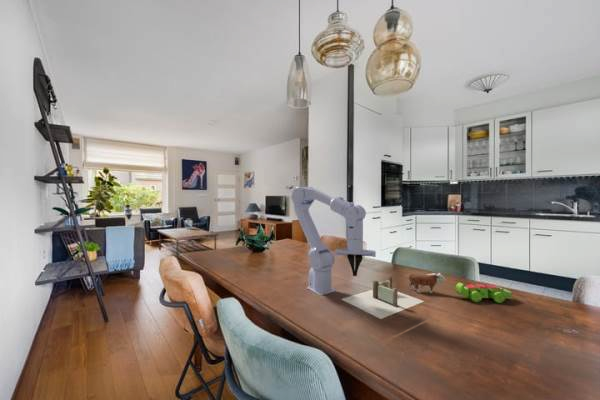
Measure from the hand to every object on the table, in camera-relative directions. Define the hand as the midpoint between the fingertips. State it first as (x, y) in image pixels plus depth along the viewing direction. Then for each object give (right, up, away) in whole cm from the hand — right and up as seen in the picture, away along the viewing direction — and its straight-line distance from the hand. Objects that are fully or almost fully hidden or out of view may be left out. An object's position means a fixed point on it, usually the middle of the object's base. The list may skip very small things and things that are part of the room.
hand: (354, 275), depth 93 cm
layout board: (+10, -9, -1) cm, 14 cm away
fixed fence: (+12, -9, +4) cm, 15 cm away
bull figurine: (+31, -10, +8) cm, 33 cm away
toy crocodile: (+49, -10, +2) cm, 50 cm away
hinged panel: (+11, -9, -2) cm, 14 cm away
